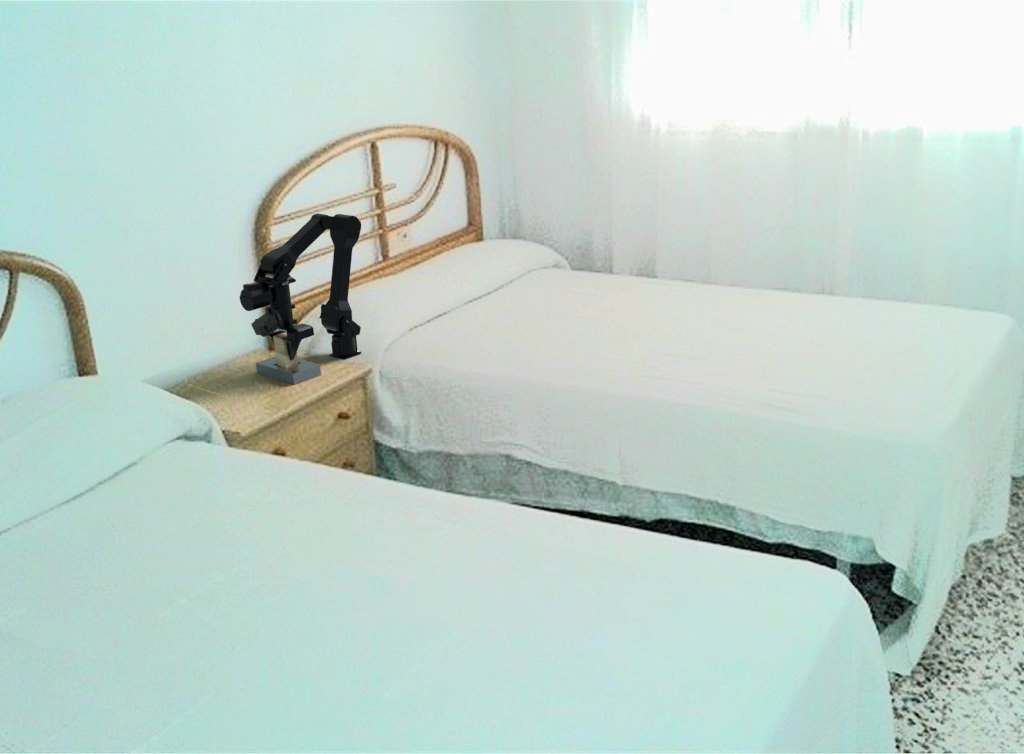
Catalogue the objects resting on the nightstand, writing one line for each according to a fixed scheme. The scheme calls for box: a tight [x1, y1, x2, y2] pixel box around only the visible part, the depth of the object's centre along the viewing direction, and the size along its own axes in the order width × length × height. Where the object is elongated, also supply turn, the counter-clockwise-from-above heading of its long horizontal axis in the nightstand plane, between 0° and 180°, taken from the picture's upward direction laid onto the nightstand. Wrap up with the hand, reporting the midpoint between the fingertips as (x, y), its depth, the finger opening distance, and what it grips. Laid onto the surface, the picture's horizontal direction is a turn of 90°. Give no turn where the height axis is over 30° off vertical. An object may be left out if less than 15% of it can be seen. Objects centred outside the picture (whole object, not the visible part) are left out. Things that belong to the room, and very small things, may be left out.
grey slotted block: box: [255, 355, 322, 385], centre depth 278 cm, size 9×16×3 cm, turn 49°
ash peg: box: [273, 332, 298, 368], centre depth 276 cm, size 4×4×9 cm
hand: (287, 358), depth 277 cm, fingers closed on ash peg, 4 cm apart
